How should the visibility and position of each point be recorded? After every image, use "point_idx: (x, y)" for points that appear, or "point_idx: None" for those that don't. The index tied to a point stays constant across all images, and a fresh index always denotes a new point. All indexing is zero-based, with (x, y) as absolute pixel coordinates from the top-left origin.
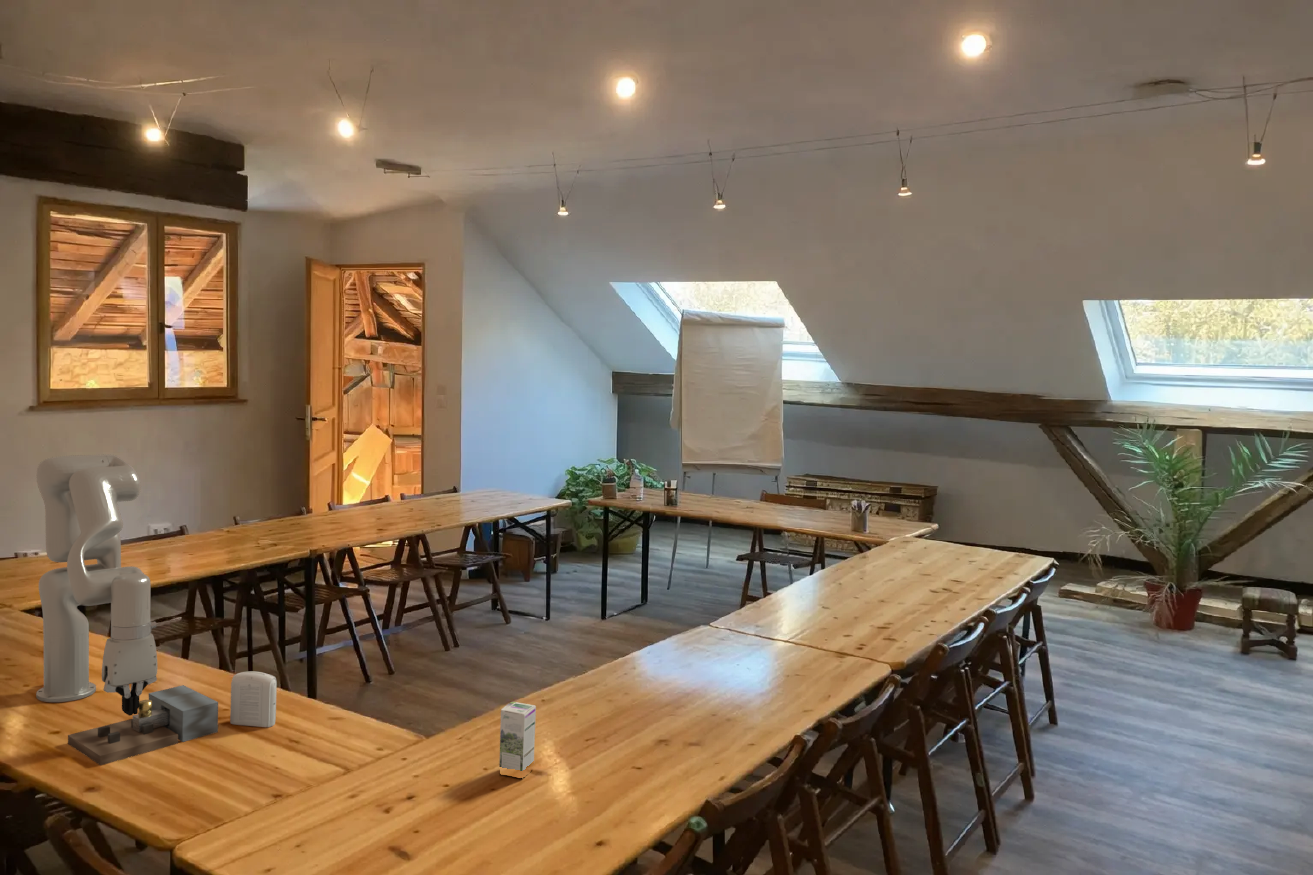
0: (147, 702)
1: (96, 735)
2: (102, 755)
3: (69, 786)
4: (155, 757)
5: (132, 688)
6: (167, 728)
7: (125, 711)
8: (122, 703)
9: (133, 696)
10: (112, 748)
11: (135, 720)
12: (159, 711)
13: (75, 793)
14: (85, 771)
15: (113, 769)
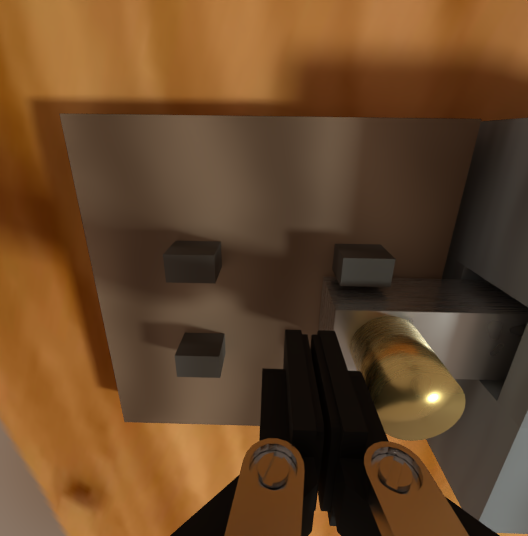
0: (418, 427)
1: (174, 227)
2: (131, 420)
3: (36, 454)
4: None
5: (380, 512)
6: None
7: (284, 355)
8: (261, 407)
9: (331, 497)
10: (178, 392)
11: (329, 328)
12: (465, 348)
13: (44, 490)
14: (91, 403)
15: (159, 437)
